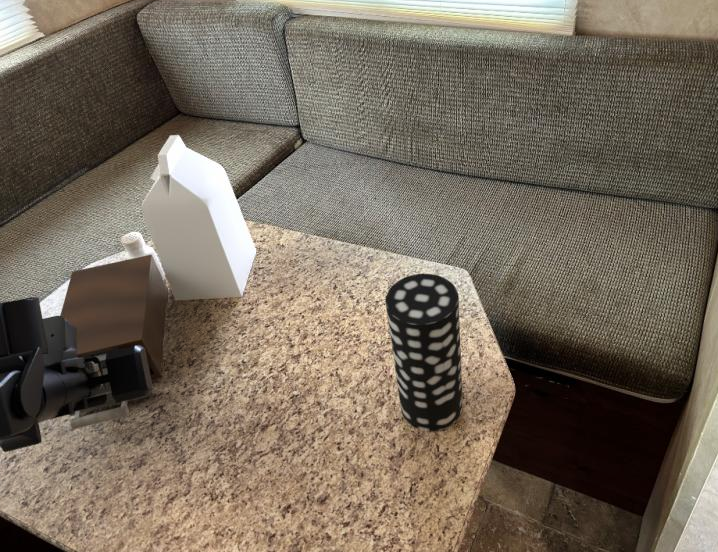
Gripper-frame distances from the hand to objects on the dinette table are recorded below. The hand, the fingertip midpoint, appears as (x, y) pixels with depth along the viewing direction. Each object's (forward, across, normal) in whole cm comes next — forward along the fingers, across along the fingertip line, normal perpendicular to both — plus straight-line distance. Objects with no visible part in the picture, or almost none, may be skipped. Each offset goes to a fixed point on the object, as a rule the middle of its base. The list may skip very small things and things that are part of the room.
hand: (94, 381), depth 81 cm
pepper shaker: (+25, -3, -15) cm, 29 cm away
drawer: (+9, 0, -1) cm, 9 cm away
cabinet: (+15, 0, -5) cm, 16 cm away
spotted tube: (-4, -43, +14) cm, 45 cm away
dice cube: (+8, 0, 0) cm, 8 cm away
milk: (+23, -15, -13) cm, 30 cm away
